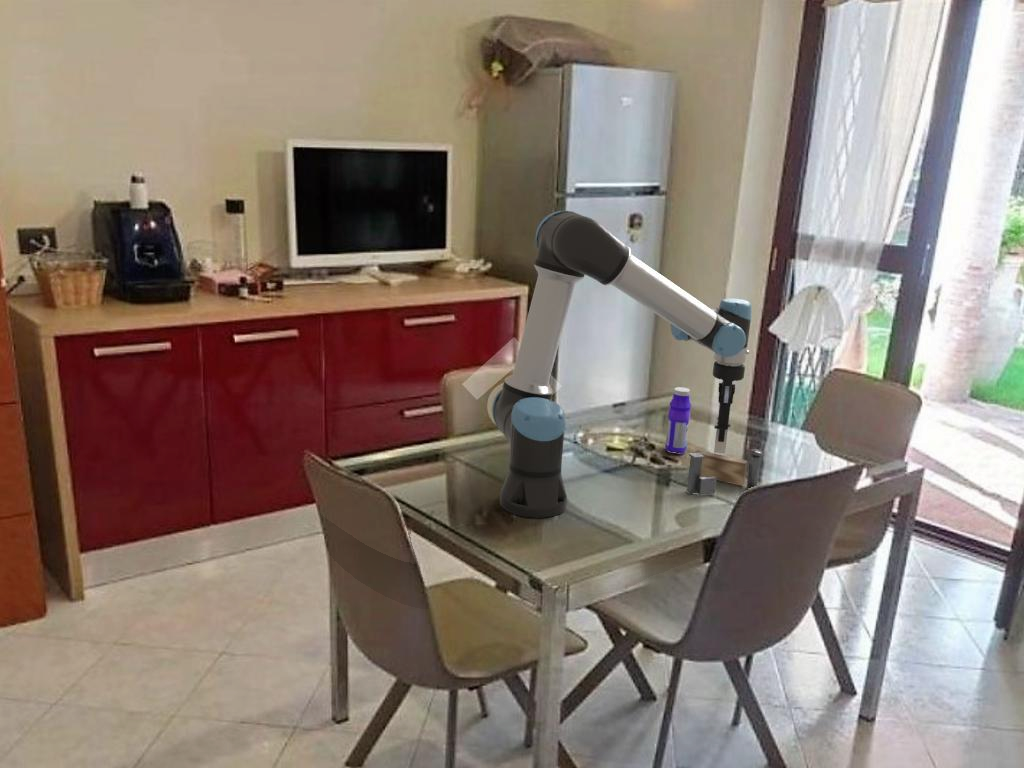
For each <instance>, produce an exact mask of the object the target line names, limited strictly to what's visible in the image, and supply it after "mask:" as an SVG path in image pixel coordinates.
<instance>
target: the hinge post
mask: <svg viewBox="0 0 1024 768" xmlns="http://www.w3.org/2000/svg"><path fill="white" fill-rule="evenodd" d="M748 453H749V454H750V458H749V467H748V474H747V479H746V480H747V481H746V489H747V488H751V487H754V486H757V487H758V481H759V473H760V467H761V461H762V456H763V455H764V451H763V450H761V449H759V448H752V449H749V452H748Z"/></svg>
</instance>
